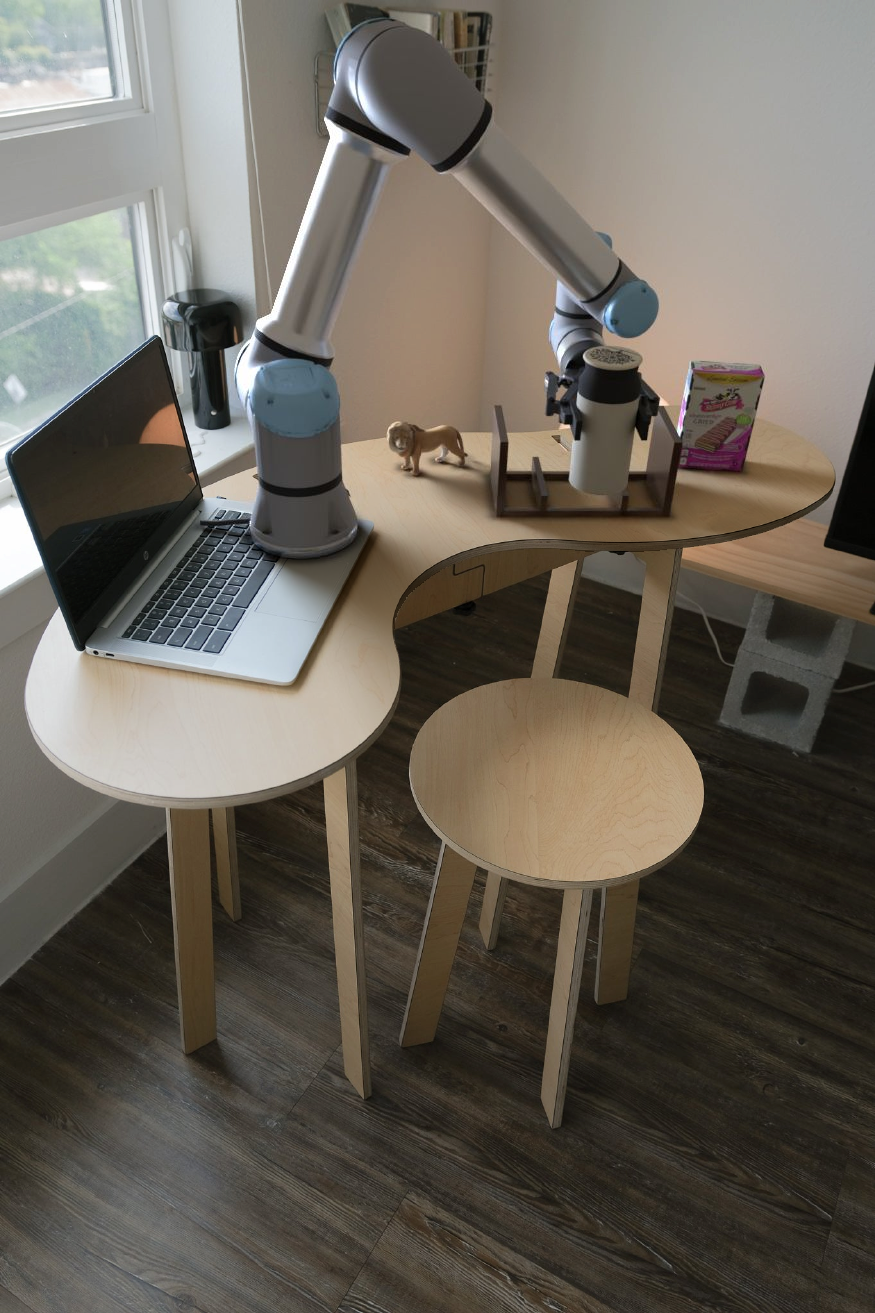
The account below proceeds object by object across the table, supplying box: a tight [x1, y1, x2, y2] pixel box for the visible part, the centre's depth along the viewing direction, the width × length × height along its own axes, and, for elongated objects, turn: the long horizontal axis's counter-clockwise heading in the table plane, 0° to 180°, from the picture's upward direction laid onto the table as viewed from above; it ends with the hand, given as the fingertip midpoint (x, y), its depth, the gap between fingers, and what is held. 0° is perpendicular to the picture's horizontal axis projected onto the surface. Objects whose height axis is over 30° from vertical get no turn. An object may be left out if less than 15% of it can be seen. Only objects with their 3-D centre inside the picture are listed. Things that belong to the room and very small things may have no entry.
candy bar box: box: [676, 360, 766, 472], centre depth 159 cm, size 11×5×16 cm, turn 84°
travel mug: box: [568, 345, 644, 496], centre depth 132 cm, size 8×8×18 cm
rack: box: [489, 404, 683, 518], centre depth 151 cm, size 26×13×12 cm, turn 92°
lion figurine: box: [386, 420, 469, 476], centre depth 158 cm, size 15×5×9 cm, turn 121°
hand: (612, 430), depth 128 cm, fingers closed on travel mug, 8 cm apart
